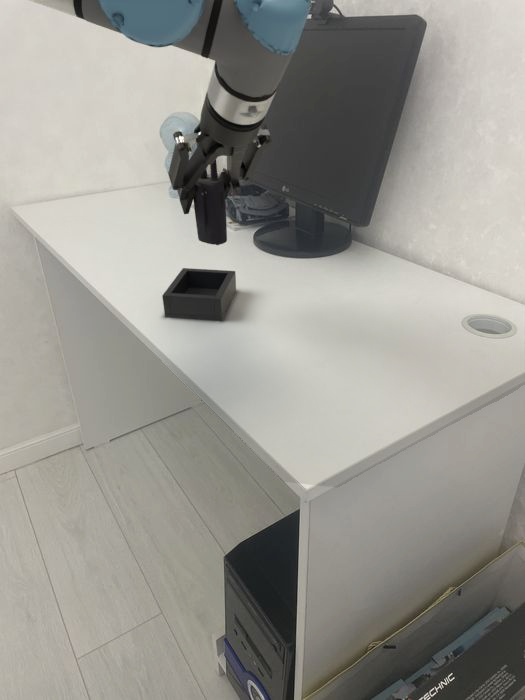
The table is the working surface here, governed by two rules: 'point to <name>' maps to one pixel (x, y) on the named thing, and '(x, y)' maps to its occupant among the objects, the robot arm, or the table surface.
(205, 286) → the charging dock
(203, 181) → the two-way radio
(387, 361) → the table surface
